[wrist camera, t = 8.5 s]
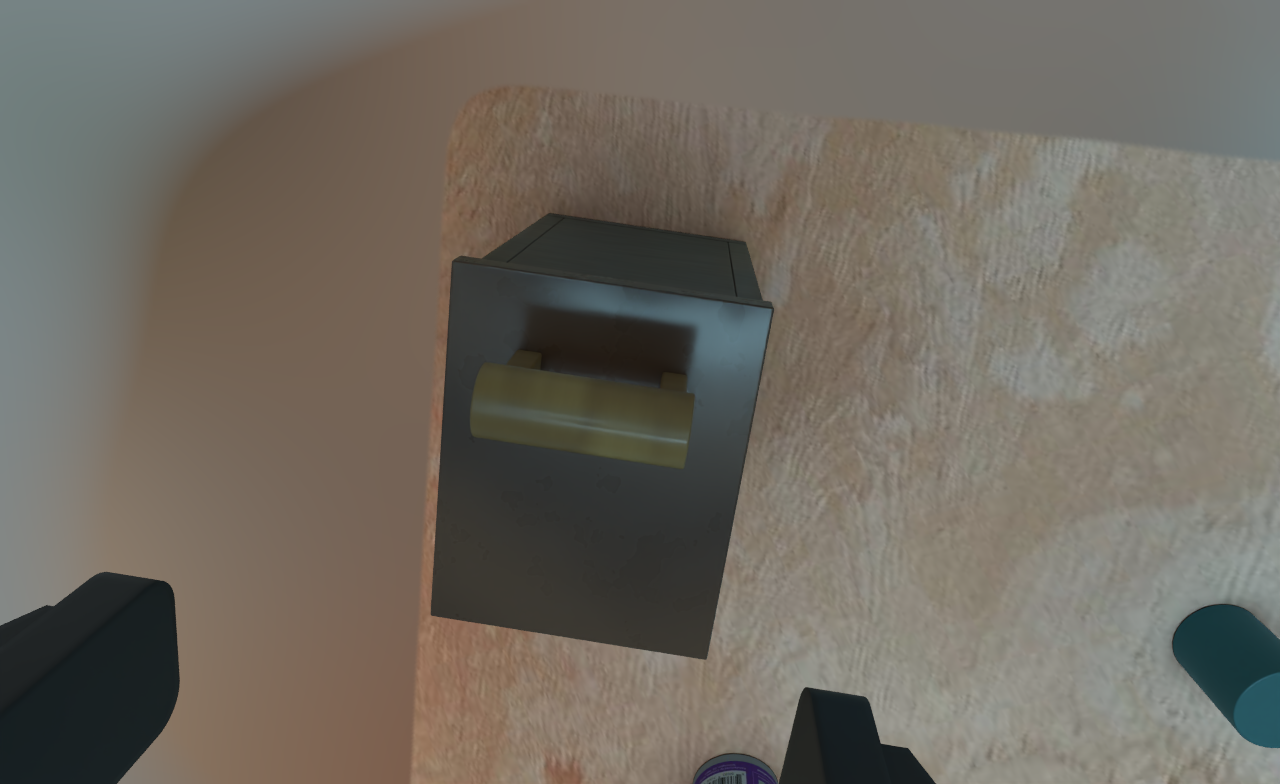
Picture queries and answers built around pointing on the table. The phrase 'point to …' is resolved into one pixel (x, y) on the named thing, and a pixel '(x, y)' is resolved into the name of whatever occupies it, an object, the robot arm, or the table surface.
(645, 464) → the lid
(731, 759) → the container
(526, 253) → the chest
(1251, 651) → the teal cylinder
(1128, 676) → the table surface
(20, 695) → the robot arm
